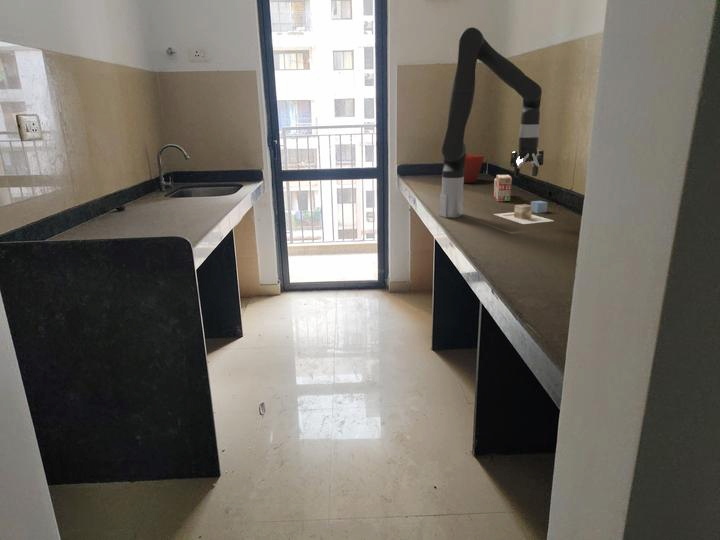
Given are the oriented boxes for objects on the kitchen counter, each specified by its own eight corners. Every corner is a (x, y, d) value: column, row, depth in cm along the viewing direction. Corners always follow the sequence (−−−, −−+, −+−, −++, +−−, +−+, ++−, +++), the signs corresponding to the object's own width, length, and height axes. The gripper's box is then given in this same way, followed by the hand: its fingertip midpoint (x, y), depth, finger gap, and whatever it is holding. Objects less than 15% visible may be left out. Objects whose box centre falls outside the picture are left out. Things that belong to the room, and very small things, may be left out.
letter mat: (523, 225, 194) (523, 224, 194) (492, 215, 214) (492, 214, 214) (554, 222, 198) (554, 220, 198) (521, 212, 218) (521, 211, 218)
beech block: (521, 218, 203) (522, 207, 202) (514, 216, 208) (514, 205, 206) (531, 217, 205) (532, 206, 203) (524, 215, 209) (524, 204, 208)
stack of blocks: (493, 195, 267) (494, 172, 263) (505, 195, 266) (506, 172, 262) (497, 202, 247) (499, 177, 243) (510, 202, 246) (512, 177, 242)
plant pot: (441, 181, 324) (442, 155, 319) (465, 179, 332) (466, 154, 327) (459, 184, 308) (460, 157, 303) (483, 182, 315) (484, 155, 310)
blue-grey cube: (537, 214, 215) (538, 203, 213) (530, 212, 219) (530, 201, 218) (546, 213, 216) (547, 202, 215) (539, 211, 221) (540, 200, 219)
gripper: (519, 137, 191) (516, 178, 196) (549, 135, 195) (546, 176, 200) (508, 136, 197) (505, 176, 202) (537, 135, 202) (534, 174, 206)
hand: (525, 176), depth 201 cm, fingers open, 8 cm apart
